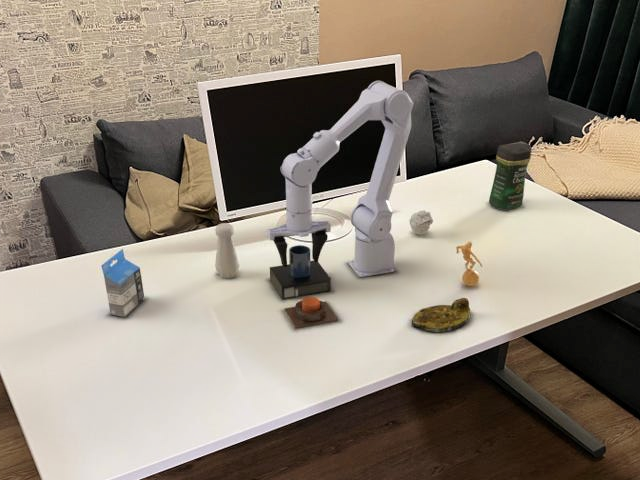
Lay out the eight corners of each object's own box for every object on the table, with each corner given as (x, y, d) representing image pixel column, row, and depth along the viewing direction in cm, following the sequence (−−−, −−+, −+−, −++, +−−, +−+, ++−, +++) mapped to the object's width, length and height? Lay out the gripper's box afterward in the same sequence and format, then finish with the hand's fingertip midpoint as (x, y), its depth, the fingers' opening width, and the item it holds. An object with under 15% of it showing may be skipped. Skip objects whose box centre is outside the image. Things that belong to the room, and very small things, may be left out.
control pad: (325, 303, 168) (325, 294, 167) (337, 321, 162) (338, 311, 161) (284, 311, 165) (283, 301, 164) (294, 329, 159) (294, 319, 158)
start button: (316, 302, 165) (316, 295, 164) (322, 311, 162) (322, 304, 161) (299, 305, 164) (299, 298, 163) (305, 314, 160) (305, 307, 159)
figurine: (487, 290, 175) (494, 244, 168) (469, 296, 172) (475, 250, 165) (463, 276, 181) (469, 231, 174) (445, 282, 178) (450, 237, 171)
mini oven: (316, 272, 181) (316, 259, 179) (331, 293, 173) (331, 280, 170) (270, 280, 177) (269, 267, 175) (282, 301, 169) (282, 288, 167)
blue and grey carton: (125, 318, 162) (116, 268, 155) (109, 315, 163) (100, 265, 156) (145, 299, 169) (138, 250, 162) (130, 296, 170) (122, 248, 163)
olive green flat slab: (424, 342, 158) (479, 325, 164) (427, 325, 155) (483, 308, 160) (401, 318, 164) (455, 302, 170) (403, 301, 161) (459, 285, 167)
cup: (306, 266, 176) (306, 244, 172) (313, 276, 172) (313, 253, 168) (287, 269, 174) (286, 246, 171) (293, 279, 170) (292, 256, 167)
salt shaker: (235, 281, 176) (231, 231, 169) (212, 278, 177) (208, 229, 170) (242, 270, 181) (239, 221, 174) (220, 267, 182) (216, 219, 174)
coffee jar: (502, 213, 212) (512, 150, 202) (484, 203, 218) (493, 142, 207) (527, 207, 217) (538, 145, 206) (508, 197, 222) (518, 137, 211)
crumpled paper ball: (418, 241, 196) (420, 217, 192) (403, 231, 201) (405, 207, 197) (436, 236, 199) (439, 212, 195) (421, 227, 204) (423, 203, 200)
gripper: (272, 219, 159) (274, 275, 166) (335, 211, 163) (334, 265, 171) (264, 207, 164) (266, 261, 172) (324, 199, 168) (324, 252, 176)
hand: (299, 262), depth 172 cm, fingers open, 7 cm apart
